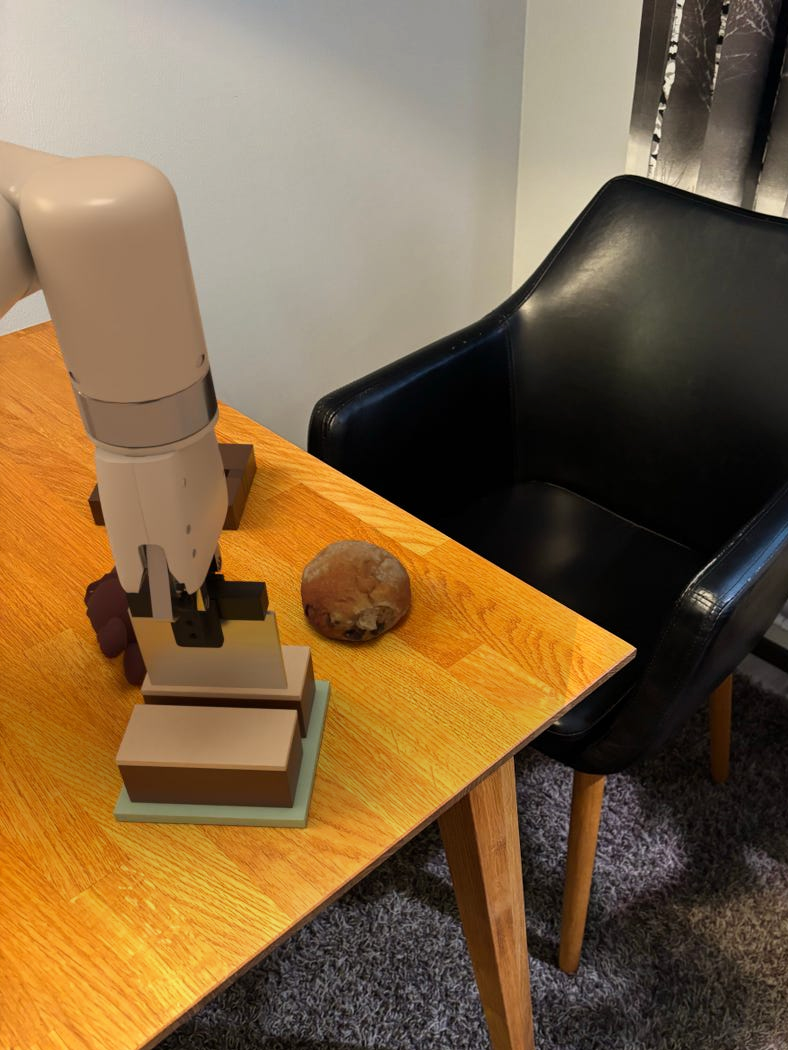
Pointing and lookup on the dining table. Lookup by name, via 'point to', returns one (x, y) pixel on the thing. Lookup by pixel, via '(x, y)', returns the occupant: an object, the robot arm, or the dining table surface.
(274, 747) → the paired blocks on tray
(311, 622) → the bread roll
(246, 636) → the beige black-topped panel
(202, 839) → the dining table surface
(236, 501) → the brown slotted block
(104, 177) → the robot arm
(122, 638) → the icecream
